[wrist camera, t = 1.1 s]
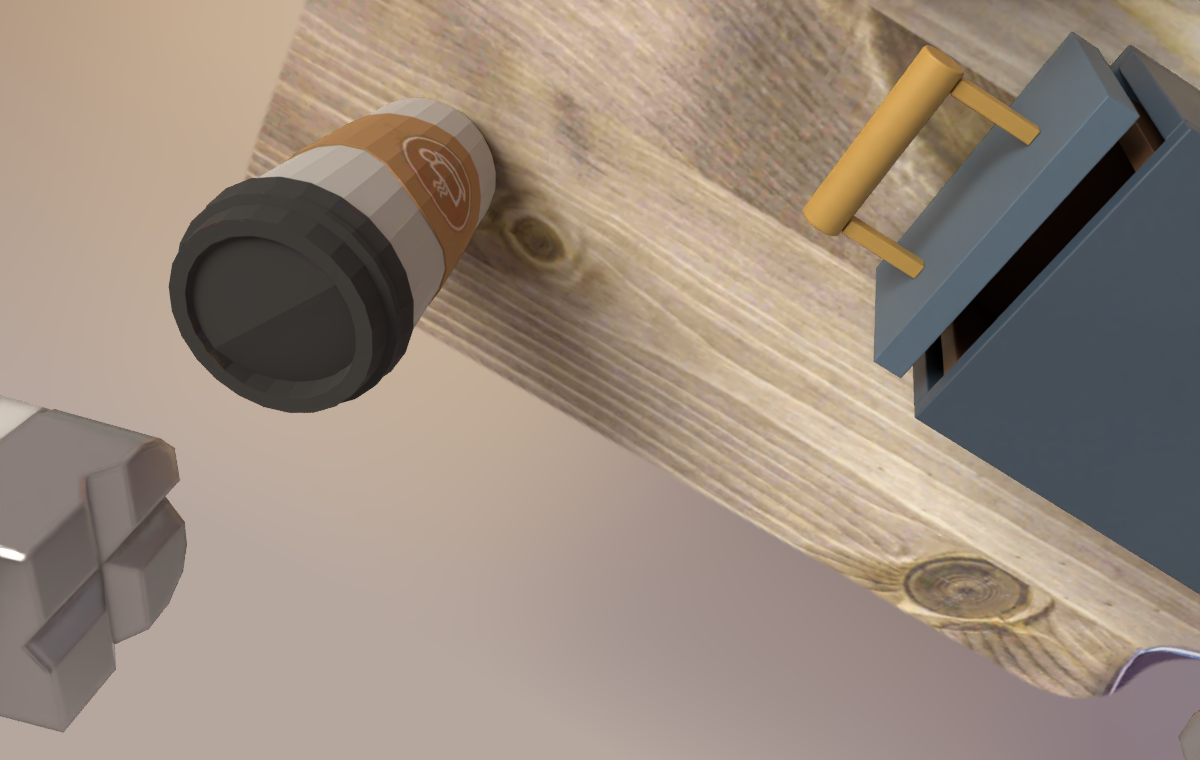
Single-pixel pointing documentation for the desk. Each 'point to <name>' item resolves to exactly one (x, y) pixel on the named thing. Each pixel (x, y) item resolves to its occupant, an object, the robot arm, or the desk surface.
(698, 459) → the desk surface
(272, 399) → the coffee cup
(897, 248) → the drawer
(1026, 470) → the cabinet
